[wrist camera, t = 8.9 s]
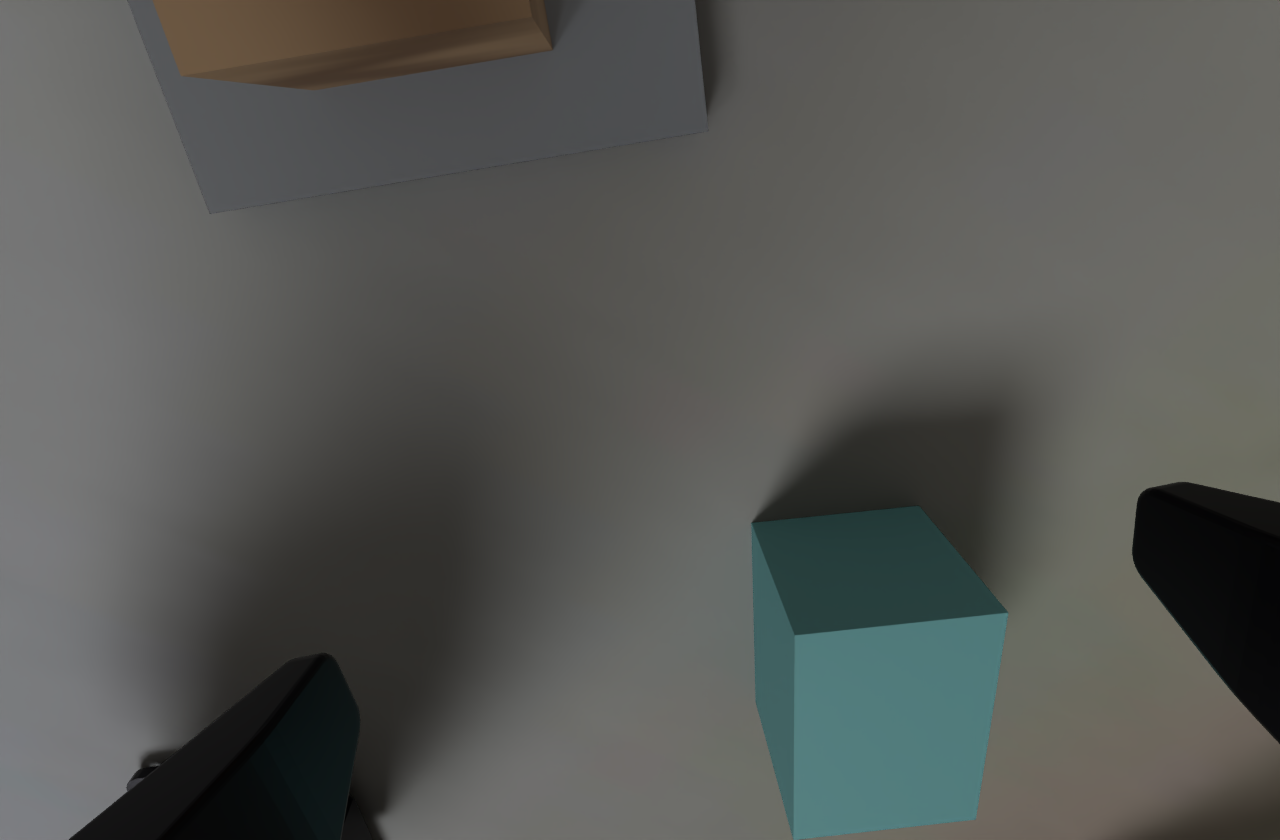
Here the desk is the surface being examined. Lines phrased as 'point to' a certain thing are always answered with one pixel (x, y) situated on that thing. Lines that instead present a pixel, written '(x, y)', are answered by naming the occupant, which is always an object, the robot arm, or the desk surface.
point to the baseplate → (442, 108)
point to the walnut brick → (345, 38)
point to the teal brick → (872, 670)
